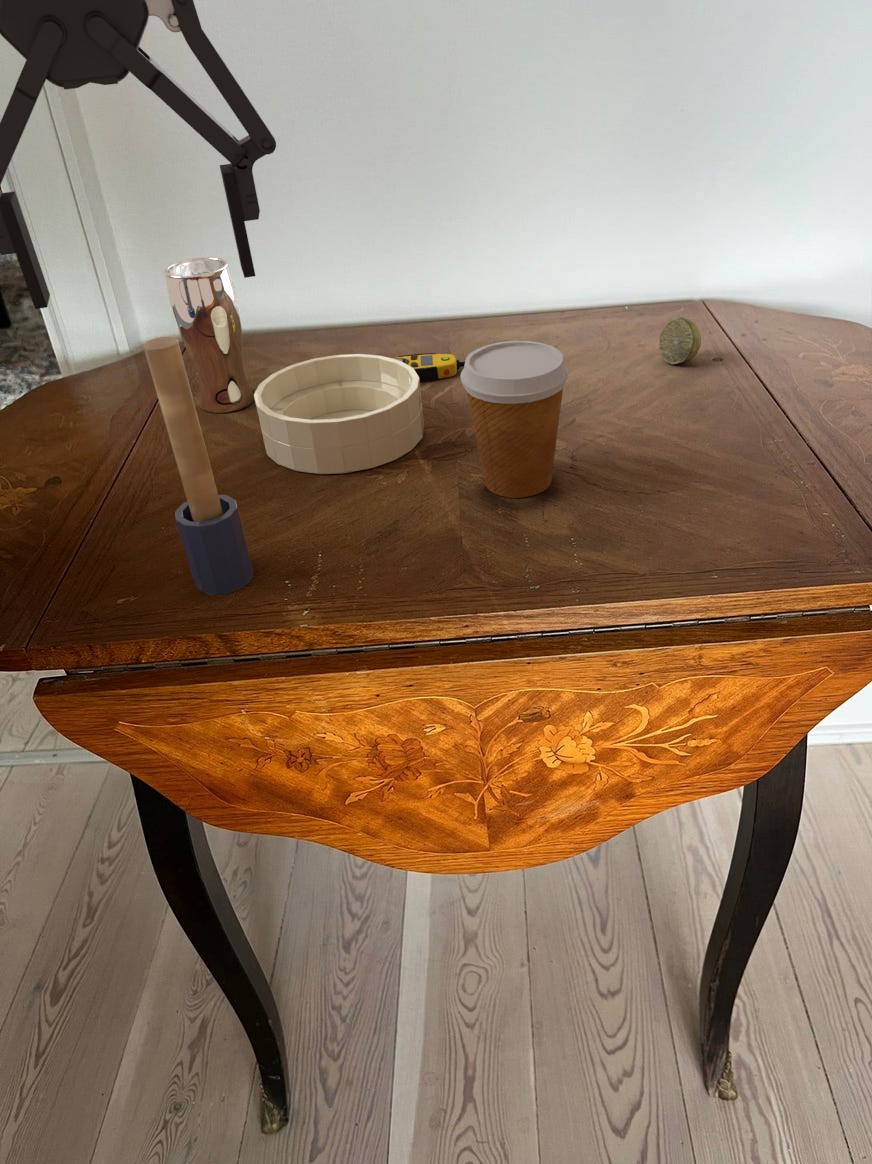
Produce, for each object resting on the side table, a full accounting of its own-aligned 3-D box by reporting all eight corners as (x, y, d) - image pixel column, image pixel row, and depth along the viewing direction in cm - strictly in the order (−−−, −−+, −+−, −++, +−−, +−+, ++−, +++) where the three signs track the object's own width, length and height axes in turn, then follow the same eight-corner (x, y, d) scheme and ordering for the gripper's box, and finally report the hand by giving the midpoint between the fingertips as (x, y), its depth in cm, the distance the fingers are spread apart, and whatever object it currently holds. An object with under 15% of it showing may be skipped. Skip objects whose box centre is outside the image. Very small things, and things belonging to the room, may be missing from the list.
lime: (696, 370, 108) (700, 326, 105) (654, 367, 109) (656, 324, 106) (702, 355, 111) (705, 312, 108) (660, 352, 112) (663, 310, 109)
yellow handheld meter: (378, 354, 112) (505, 343, 112) (380, 369, 113) (506, 358, 113) (378, 370, 108) (509, 358, 108) (380, 386, 109) (509, 375, 110)
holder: (198, 603, 77) (176, 530, 73) (195, 572, 81) (174, 500, 76) (257, 591, 78) (239, 518, 74) (251, 561, 82) (234, 489, 77)
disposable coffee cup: (543, 449, 95) (541, 331, 87) (585, 492, 88) (587, 367, 80) (453, 470, 92) (444, 351, 85) (490, 516, 85) (482, 390, 78)
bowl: (275, 492, 91) (263, 434, 87) (258, 422, 104) (247, 369, 100) (441, 461, 94) (436, 404, 90) (405, 396, 107) (399, 344, 103)
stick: (210, 587, 78) (143, 351, 66) (208, 572, 80) (142, 339, 67) (240, 581, 78) (178, 346, 66) (237, 566, 80) (177, 334, 68)
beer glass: (240, 383, 112) (210, 252, 103) (269, 401, 108) (241, 265, 98) (186, 402, 109) (150, 268, 99) (214, 420, 104) (179, 282, 95)
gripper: (262, -128, 56) (321, 245, 69) (-197, -95, 52) (-40, 297, 65) (276, -133, 51) (338, 274, 64) (-238, -96, 46) (-57, 334, 59)
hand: (147, 287), depth 64 cm, fingers open, 13 cm apart
